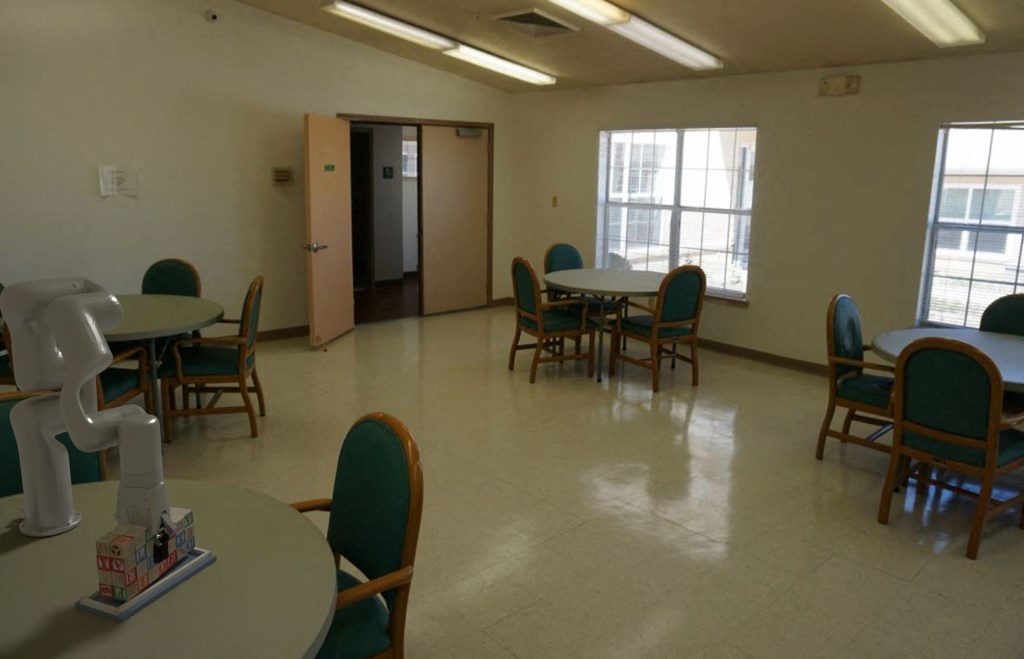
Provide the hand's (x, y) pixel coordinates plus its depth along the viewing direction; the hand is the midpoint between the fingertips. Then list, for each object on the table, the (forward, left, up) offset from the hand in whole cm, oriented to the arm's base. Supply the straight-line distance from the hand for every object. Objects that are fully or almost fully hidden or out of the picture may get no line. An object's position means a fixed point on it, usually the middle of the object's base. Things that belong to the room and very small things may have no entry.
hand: (147, 555), depth 153 cm
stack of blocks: (0, 0, -4) cm, 4 cm away
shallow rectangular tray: (0, 0, -6) cm, 6 cm away
